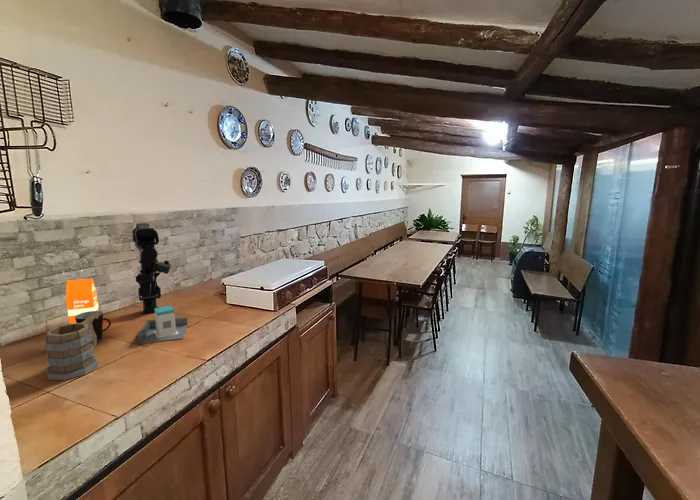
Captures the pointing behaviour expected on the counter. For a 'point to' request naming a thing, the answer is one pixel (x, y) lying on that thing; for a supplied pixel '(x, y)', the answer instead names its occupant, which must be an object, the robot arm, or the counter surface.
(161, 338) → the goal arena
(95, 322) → the coffee mug
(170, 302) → the counter surface
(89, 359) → the tankard
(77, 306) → the orange juice
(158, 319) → the white teal-lidded canister
